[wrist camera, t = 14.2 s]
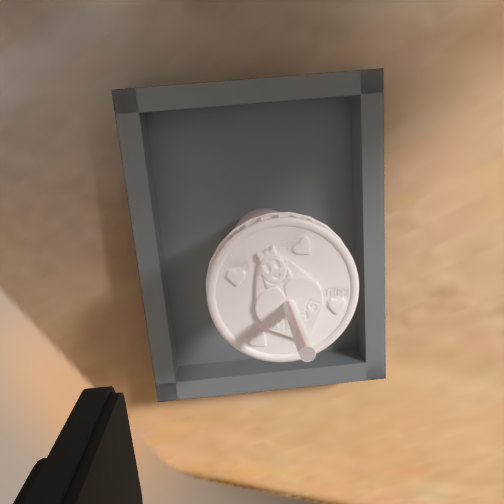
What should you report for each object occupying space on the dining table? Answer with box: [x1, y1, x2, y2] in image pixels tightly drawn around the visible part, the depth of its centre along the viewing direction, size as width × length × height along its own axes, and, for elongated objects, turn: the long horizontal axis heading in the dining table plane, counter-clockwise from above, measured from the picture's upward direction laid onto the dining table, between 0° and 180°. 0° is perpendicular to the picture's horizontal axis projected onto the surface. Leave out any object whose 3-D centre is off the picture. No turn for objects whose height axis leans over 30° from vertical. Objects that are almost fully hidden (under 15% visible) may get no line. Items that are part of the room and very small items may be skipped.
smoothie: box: [206, 208, 359, 362], centre depth 22 cm, size 6×6×14 cm
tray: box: [112, 68, 386, 402], centre depth 28 cm, size 18×14×3 cm
